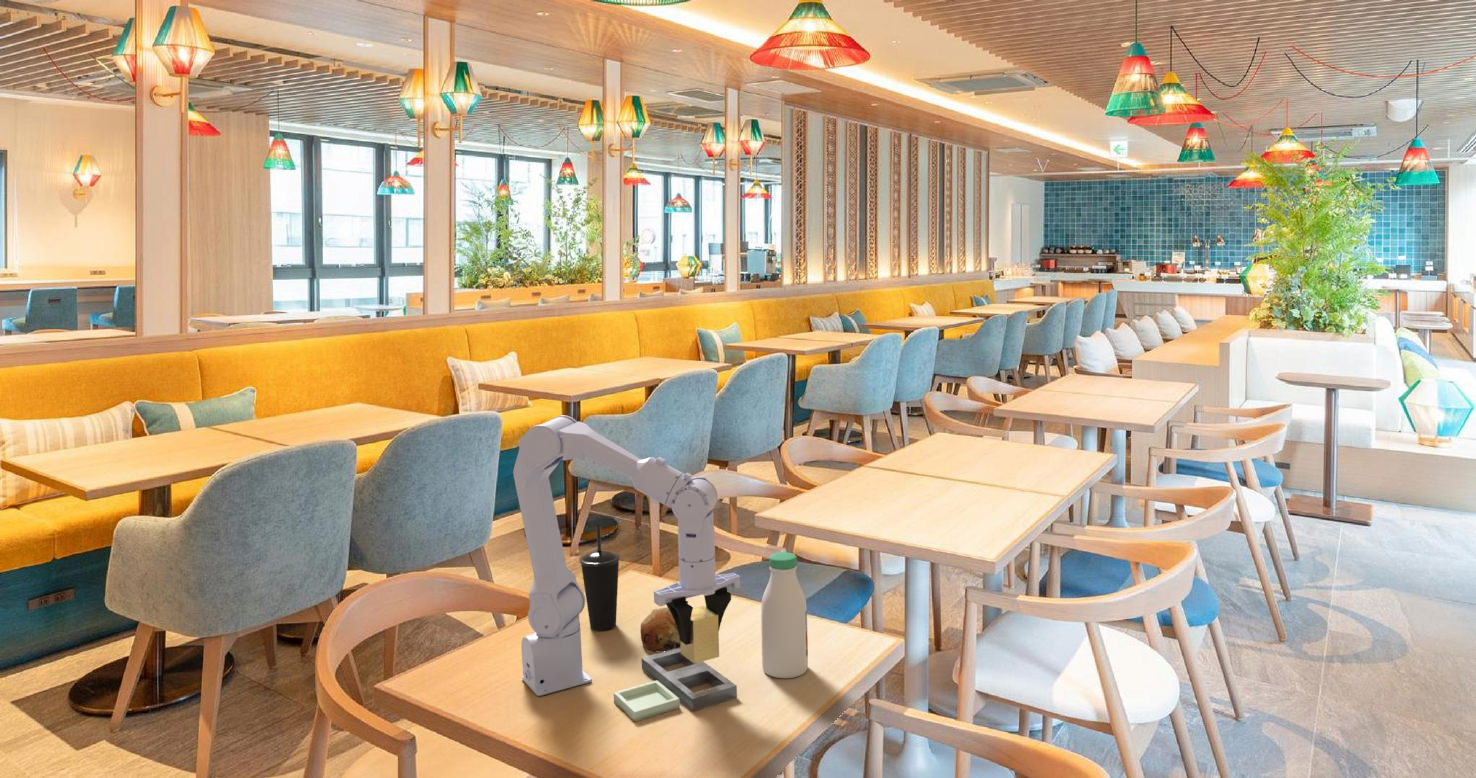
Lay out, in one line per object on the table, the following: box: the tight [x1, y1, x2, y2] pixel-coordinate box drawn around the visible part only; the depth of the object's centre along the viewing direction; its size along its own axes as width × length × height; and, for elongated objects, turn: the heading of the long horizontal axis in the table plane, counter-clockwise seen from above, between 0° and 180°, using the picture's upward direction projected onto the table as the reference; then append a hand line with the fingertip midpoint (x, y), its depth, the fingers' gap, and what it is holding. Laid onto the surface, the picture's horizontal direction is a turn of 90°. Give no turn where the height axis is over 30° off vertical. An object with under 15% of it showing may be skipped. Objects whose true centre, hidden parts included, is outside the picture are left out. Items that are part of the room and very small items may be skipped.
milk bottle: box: [760, 551, 809, 679], centre depth 159 cm, size 8×8×20 cm
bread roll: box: [640, 606, 681, 652], centre depth 173 cm, size 10×10×8 cm
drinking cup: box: [578, 523, 621, 632], centre depth 179 cm, size 8×8×20 cm
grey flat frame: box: [641, 647, 738, 712], centre depth 156 cm, size 8×18×2 cm, turn 31°
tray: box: [613, 680, 681, 722], centre depth 149 cm, size 8×8×2 cm
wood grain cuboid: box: [680, 605, 720, 664], centre depth 151 cm, size 4×4×7 cm
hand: (699, 638), depth 151 cm, fingers closed on wood grain cuboid, 4 cm apart
